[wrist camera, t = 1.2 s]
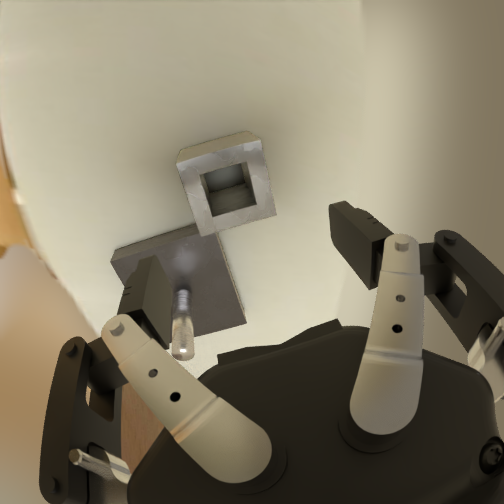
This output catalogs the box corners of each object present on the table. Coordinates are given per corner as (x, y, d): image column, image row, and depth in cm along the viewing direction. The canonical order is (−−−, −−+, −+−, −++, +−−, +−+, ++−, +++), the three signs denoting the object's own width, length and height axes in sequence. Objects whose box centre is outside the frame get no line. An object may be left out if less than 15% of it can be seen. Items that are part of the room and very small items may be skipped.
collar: (180, 149, 20) (175, 163, 16) (247, 130, 21) (260, 139, 16) (200, 209, 24) (201, 236, 19) (261, 191, 24) (276, 215, 20)
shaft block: (115, 250, 24) (89, 316, 16) (212, 218, 24) (221, 280, 17) (163, 331, 31) (161, 396, 23) (244, 310, 31) (259, 376, 23)
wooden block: (100, 363, 32) (87, 493, 16) (166, 364, 34) (172, 504, 18) (120, 396, 38) (118, 503, 21) (177, 397, 39) (186, 509, 23)
